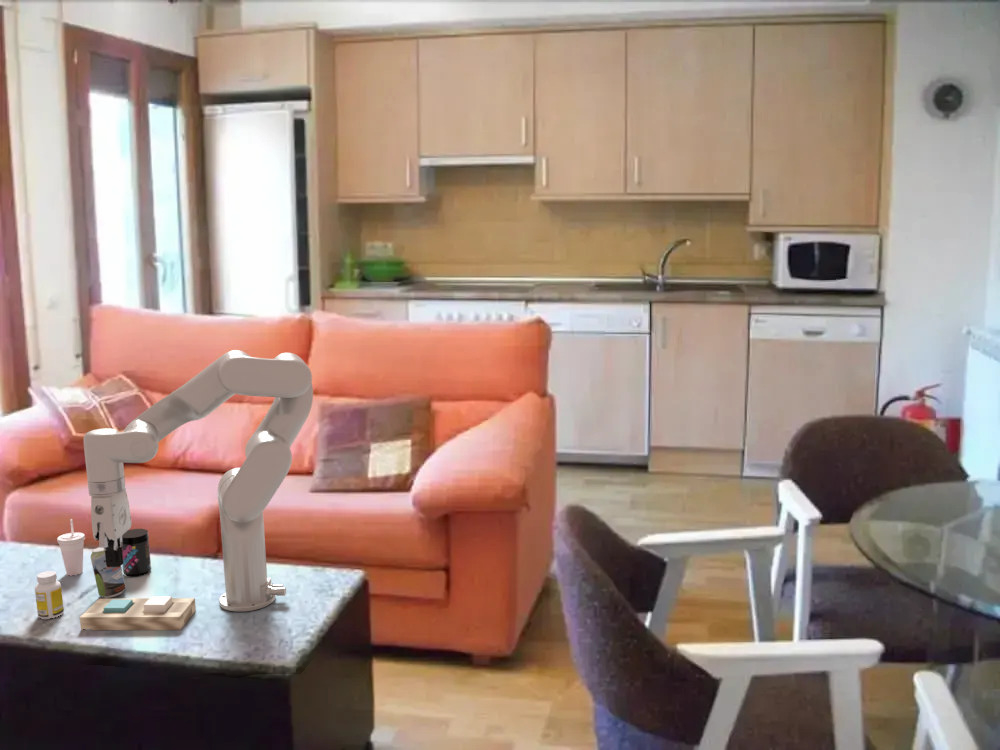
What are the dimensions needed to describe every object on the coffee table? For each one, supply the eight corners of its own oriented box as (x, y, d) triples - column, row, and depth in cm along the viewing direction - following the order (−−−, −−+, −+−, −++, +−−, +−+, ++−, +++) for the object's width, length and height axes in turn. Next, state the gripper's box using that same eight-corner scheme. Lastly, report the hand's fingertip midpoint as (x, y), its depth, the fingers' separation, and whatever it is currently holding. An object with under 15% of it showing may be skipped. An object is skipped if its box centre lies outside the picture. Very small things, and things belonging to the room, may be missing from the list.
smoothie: (93, 571, 251) (88, 518, 248) (71, 579, 245) (65, 525, 243) (78, 566, 254) (72, 514, 251) (55, 574, 249) (49, 521, 246)
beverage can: (116, 601, 232) (112, 552, 229) (88, 599, 233) (83, 551, 231) (131, 590, 238) (127, 543, 235) (104, 589, 239) (99, 541, 237)
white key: (172, 608, 223) (171, 596, 222) (165, 617, 218) (164, 604, 218) (152, 608, 223) (151, 596, 222) (144, 617, 219) (143, 604, 218)
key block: (195, 610, 226) (194, 598, 225) (180, 629, 216) (179, 616, 215) (100, 611, 226) (99, 598, 226) (81, 630, 217) (79, 617, 216)
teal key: (133, 611, 223) (132, 599, 223) (125, 620, 219) (124, 607, 218) (113, 612, 223) (112, 599, 223) (104, 620, 219) (103, 608, 218)
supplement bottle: (64, 608, 228) (60, 568, 226) (63, 617, 223) (59, 576, 221) (38, 612, 226) (34, 571, 225) (37, 621, 221) (32, 580, 220)
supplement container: (122, 570, 251) (118, 531, 249) (150, 565, 253) (146, 526, 251) (124, 579, 245) (120, 539, 243) (153, 574, 247) (149, 535, 245)
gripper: (109, 496, 208) (118, 578, 211) (137, 475, 223) (144, 553, 226) (74, 496, 208) (83, 578, 212) (104, 476, 223) (112, 553, 226)
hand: (115, 565), depth 219 cm, fingers closed
